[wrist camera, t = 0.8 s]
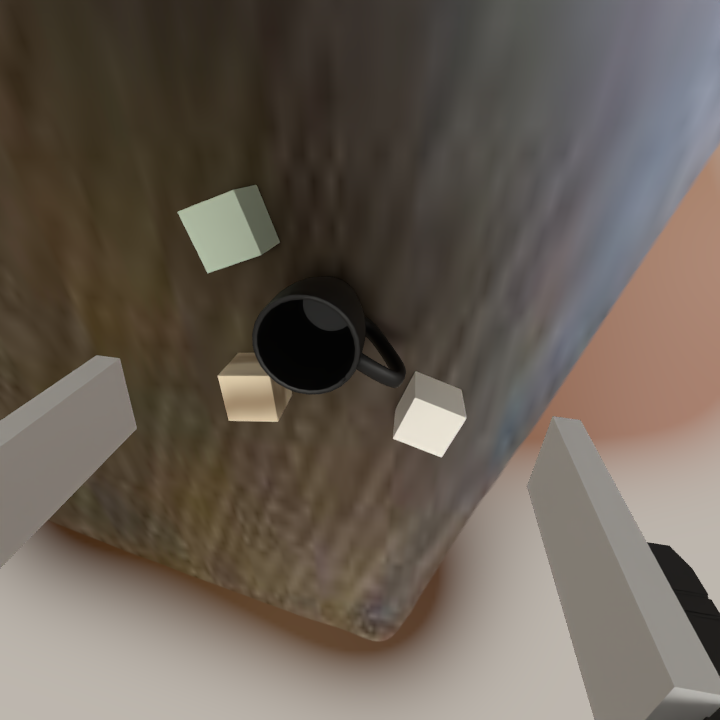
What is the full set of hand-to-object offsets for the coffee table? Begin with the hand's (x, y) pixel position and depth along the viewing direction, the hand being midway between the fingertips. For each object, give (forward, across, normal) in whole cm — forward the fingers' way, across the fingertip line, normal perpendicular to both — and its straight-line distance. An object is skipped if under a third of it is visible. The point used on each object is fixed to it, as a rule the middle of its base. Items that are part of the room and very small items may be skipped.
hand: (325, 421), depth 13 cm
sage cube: (+26, -13, 0) cm, 29 cm away
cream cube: (+26, +6, -16) cm, 31 cm away
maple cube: (+26, -11, -15) cm, 32 cm away
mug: (+26, -3, -7) cm, 27 cm away
